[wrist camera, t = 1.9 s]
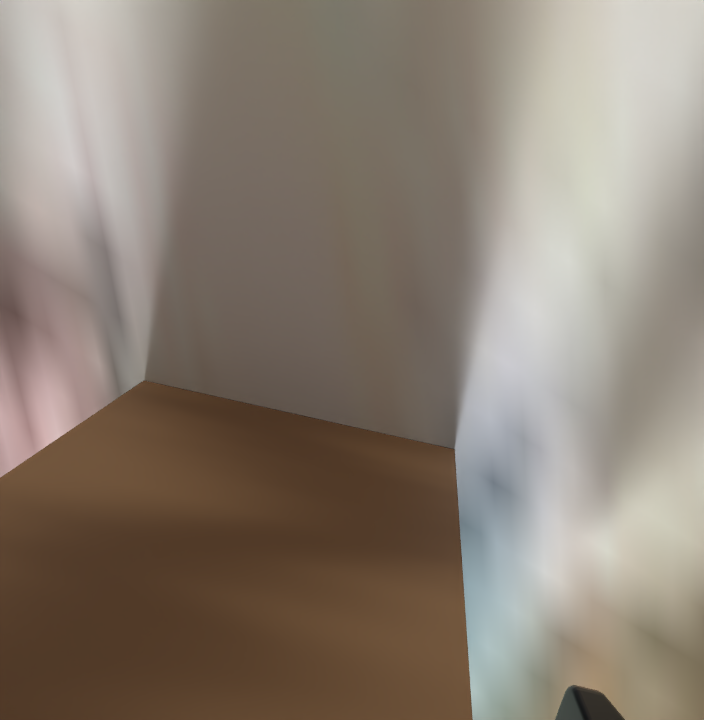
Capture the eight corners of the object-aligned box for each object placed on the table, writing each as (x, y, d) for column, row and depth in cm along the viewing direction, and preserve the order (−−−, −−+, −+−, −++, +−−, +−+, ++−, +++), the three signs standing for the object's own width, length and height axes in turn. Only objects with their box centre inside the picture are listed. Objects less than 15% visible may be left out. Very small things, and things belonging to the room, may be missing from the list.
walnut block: (454, 447, 9) (483, 887, 3) (391, 696, 11) (337, 1287, 5) (145, 380, 10) (-287, 672, 4) (126, 629, 11) (-203, 1104, 5)
